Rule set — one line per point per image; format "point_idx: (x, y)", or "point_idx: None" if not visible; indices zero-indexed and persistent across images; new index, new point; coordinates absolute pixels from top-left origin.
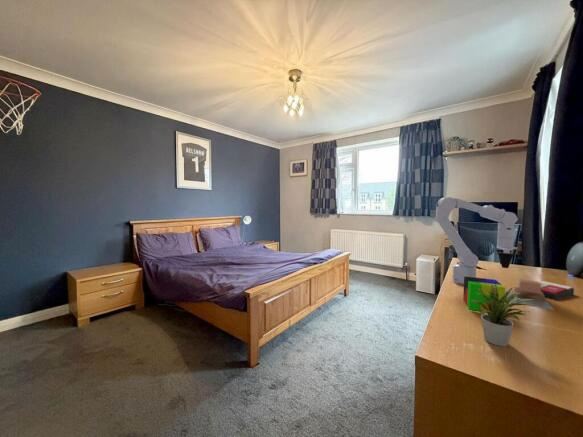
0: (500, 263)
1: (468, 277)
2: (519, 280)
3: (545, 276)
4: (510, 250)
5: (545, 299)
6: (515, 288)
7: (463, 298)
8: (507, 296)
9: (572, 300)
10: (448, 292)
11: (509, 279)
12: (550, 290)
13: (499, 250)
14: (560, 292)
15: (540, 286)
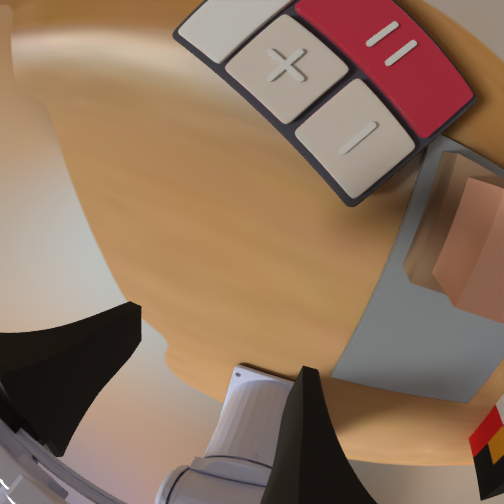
0: (136, 345)
1: (493, 494)
2: (471, 310)
3: (22, 24)
4: (4, 389)
5: (479, 156)
6: (432, 289)
7: (471, 443)
8: (463, 328)
9: (406, 4)
10: (403, 459)
11: (86, 160)
12: (437, 85)
13: (52, 444)
14: (428, 37)
15: None
